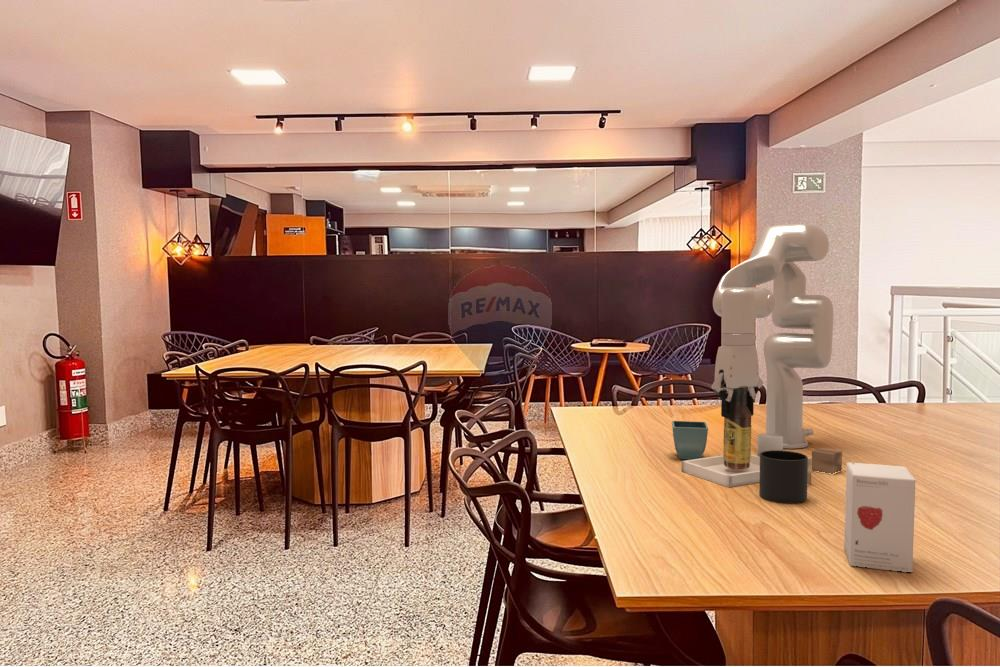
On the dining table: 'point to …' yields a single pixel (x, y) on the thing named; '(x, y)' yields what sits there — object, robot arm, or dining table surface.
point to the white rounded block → (769, 443)
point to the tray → (723, 471)
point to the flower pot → (690, 438)
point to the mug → (783, 476)
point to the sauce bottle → (738, 432)
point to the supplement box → (879, 516)
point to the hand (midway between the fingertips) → (737, 415)
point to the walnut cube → (826, 460)
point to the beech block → (809, 470)
